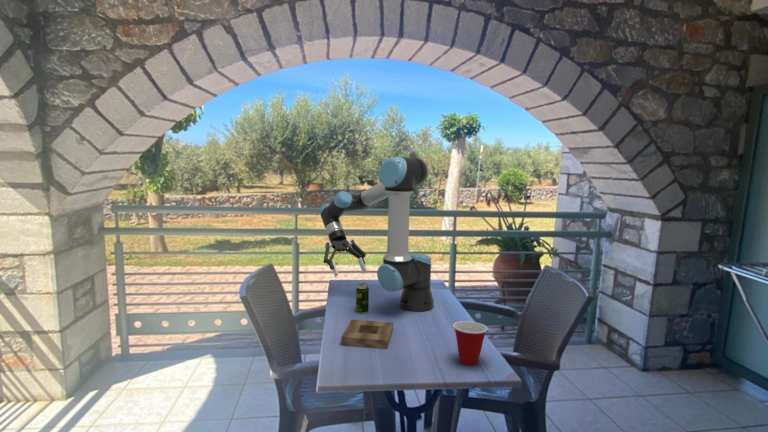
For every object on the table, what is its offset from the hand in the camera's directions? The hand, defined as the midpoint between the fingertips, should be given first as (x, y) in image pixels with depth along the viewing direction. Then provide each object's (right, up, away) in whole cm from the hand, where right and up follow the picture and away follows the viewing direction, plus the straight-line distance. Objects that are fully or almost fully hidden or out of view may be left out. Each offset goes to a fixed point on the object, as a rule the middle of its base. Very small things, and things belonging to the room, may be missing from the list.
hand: (350, 273), depth 182 cm
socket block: (+9, -19, -31) cm, 37 cm away
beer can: (+5, -16, -7) cm, 18 cm away
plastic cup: (+42, -22, -48) cm, 67 cm away
